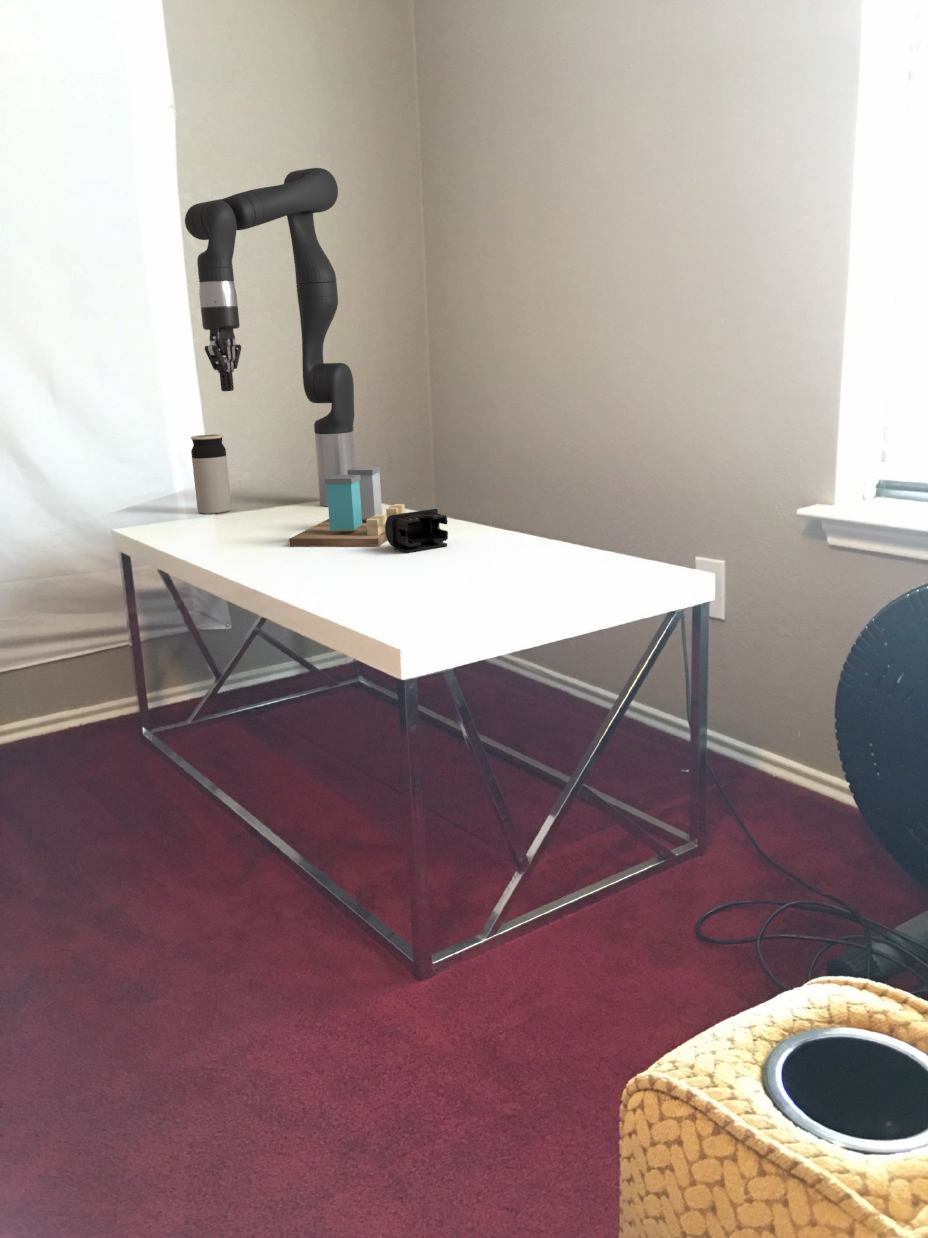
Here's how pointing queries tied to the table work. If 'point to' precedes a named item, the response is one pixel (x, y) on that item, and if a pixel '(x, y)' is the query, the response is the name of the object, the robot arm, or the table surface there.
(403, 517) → the end cap
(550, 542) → the table surface
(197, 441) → the travel mug
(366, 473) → the grey key
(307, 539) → the key base
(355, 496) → the teal key
